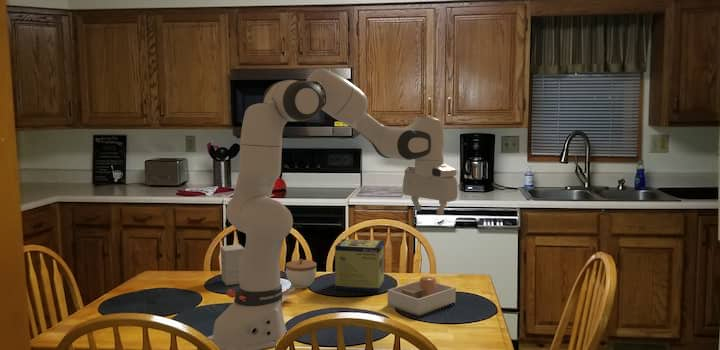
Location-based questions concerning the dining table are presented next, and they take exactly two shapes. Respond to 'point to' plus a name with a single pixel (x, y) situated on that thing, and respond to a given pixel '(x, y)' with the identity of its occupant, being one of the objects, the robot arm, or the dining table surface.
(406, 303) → the tote
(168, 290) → the dining table surface
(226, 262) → the supplement box
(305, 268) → the lidded jar
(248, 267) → the robot arm
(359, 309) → the dining table surface
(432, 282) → the terracotta cylinder
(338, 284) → the protein box
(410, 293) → the walnut cube
